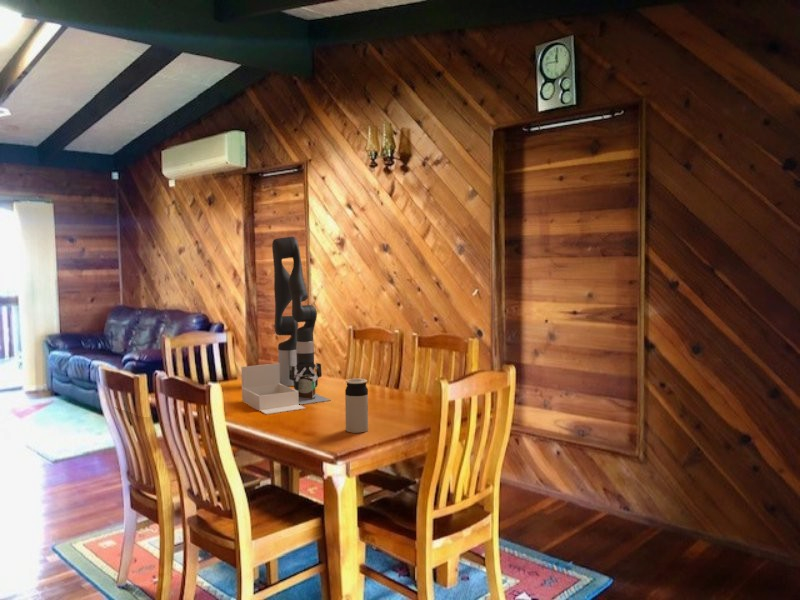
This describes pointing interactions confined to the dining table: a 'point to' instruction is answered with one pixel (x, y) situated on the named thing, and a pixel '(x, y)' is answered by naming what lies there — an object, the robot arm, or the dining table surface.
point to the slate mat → (316, 399)
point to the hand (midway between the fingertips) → (305, 388)
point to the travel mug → (356, 405)
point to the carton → (267, 390)
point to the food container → (307, 386)
